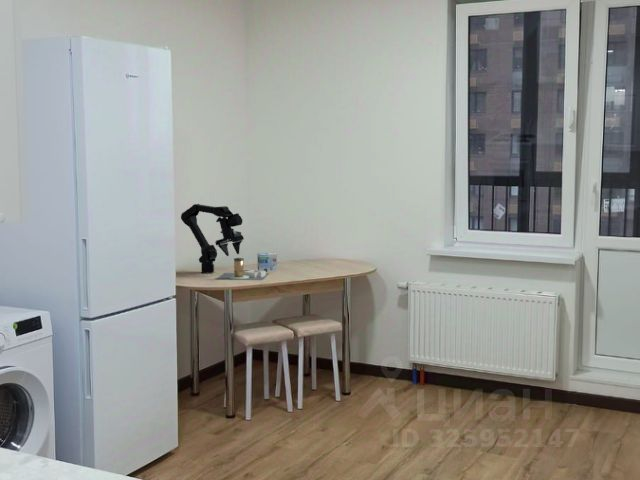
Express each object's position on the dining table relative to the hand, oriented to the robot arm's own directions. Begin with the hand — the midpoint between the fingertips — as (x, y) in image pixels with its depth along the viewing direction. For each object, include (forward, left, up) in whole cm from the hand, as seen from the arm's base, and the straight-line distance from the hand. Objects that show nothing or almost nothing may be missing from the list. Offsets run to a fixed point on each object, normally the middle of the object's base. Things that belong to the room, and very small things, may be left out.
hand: (233, 255), depth 438 cm
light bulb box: (+18, +12, -11) cm, 24 cm away
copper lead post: (+7, -16, -10) cm, 20 cm away
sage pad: (+7, -16, -11) cm, 21 cm away
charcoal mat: (+8, -10, -11) cm, 17 cm away
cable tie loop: (+14, -8, -11) cm, 20 cm away
